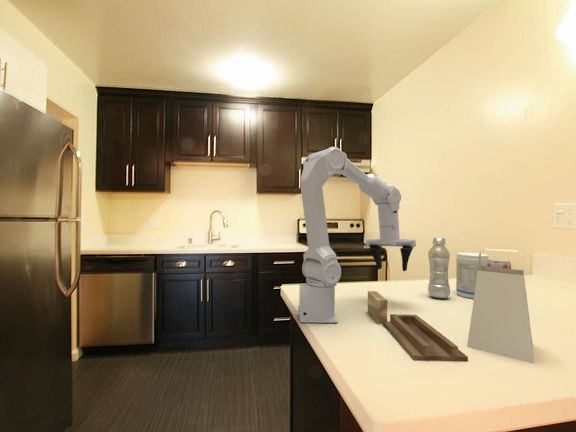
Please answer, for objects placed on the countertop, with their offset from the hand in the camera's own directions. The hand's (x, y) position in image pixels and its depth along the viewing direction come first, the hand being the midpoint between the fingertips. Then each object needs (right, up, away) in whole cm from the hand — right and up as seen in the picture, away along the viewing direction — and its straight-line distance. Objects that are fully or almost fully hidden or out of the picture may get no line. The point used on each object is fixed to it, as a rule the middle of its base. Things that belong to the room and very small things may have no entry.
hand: (391, 269), depth 90 cm
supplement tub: (+32, -12, +11) cm, 35 cm away
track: (-4, -10, -27) cm, 29 cm away
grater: (+12, -11, -29) cm, 33 cm away
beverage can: (+28, -11, -6) cm, 31 cm away
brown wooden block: (-9, -11, -13) cm, 19 cm away
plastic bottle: (+19, -11, +8) cm, 23 cm away
